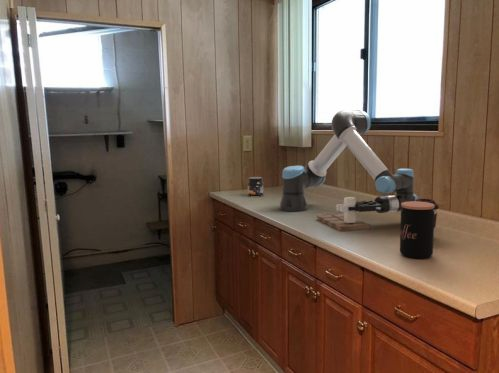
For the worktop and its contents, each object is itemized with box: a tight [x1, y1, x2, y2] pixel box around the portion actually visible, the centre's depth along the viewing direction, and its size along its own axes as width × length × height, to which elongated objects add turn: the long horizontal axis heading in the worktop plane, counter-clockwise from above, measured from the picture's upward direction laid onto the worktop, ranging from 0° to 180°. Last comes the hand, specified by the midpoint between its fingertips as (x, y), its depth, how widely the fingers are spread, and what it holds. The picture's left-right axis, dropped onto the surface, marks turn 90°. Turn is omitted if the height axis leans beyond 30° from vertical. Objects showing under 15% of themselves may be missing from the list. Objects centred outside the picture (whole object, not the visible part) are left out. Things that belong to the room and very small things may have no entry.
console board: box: [316, 213, 371, 232], centre depth 190 cm, size 24×14×2 cm, turn 15°
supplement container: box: [247, 176, 264, 197], centre depth 274 cm, size 10×10×12 cm
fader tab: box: [343, 196, 357, 223], centre depth 183 cm, size 3×4×11 cm
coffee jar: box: [399, 201, 435, 260], centre depth 142 cm, size 11×11×18 cm
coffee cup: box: [416, 198, 440, 238], centre depth 165 cm, size 10×10×15 cm
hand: (338, 208), depth 181 cm, fingers closed on fader tab, 3 cm apart
